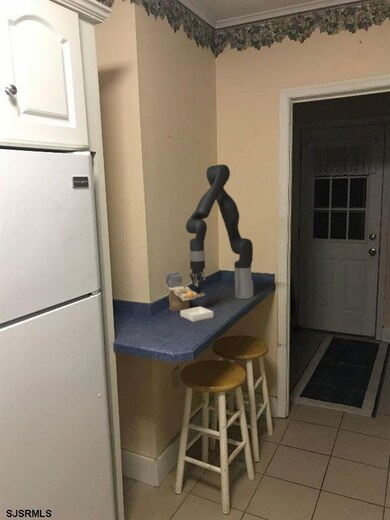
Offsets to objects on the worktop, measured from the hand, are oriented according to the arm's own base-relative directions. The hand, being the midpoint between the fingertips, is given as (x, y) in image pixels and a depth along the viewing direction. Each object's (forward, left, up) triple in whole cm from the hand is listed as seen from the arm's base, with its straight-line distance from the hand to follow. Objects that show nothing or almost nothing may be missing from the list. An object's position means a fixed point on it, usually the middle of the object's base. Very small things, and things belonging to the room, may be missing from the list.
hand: (198, 293), depth 218 cm
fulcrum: (+7, -8, -9) cm, 14 cm away
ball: (+7, +1, +1) cm, 7 cm away
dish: (+7, +9, -9) cm, 14 cm away
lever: (+4, -7, 0) cm, 8 cm away
